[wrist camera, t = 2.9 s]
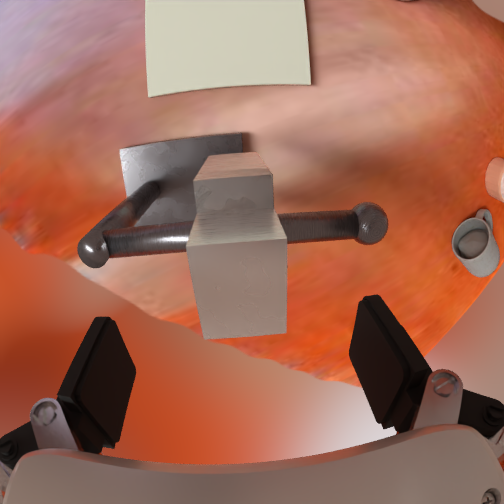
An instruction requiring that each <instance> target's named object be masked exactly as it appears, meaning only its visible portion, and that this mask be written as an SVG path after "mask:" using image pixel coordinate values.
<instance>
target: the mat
mask: <svg viewBox="0 0 504 504" xmlns="http://www.w3.org/2000/svg"><path fill="white" fill-rule="evenodd" d="M145 40H146V68H147V85H148V97H150V98H152V97H157V96H163V95H168V94H175V93H181V92H188V91H196V90H204V89H214V88H225V87H238V86H258V85H311V77H310V62H309V48H308V36H307V26H306V16H305V6H304V0H145Z"/></svg>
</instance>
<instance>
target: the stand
mask: <svg viewBox="0 0 504 504" xmlns="http://www.w3.org/2000/svg"><path fill="white" fill-rule="evenodd" d="M233 153H243V148H242V133H231V134H219V135H209V136H199V137H191V138H183V139H175V140H168V141H162V142H155V143H149V144H144V145H138V146H132V147H127V148H123V149H120V157H121V164H122V170H123V177H124V183H125V188H126V194H127V198H126V199H125V200H124V201H122V202H121V203H120V204H119V205H118V206H117V207H116V208H114V209H113V210H112V211H111V212H110V213H109V214H108V215H107V216H105V217H104V218H103V219H102V220H101V221H100V222H99V223H98V224H97V225H96V226H95V227H94V228H93V229H91V230H90V231H89V232H88V233H87V234H86V235H85V236H84V237H83V238H82V239H81V240H80V242H79V243H78V255H79V257H80V259H81V260H82V262H83V263H84V264H86V265H87V266H89V267H91V268H100V267H102V266H103V265H104V264H105V263H106V262H107V260H108V259H109V258H120V257H131V256H143V255H155V254H168V253H180V252H187V251H186V244H187V241H188V238H189V235H190V232H191V229H192V227H193V224H194V221H195V218H196V215H197V209H196V201H195V193H194V185H193V180H194V179H195V177H196V175H197V174H198V172H199V171H200V169H201V167H202V166H203V164H204V163H205V161H206V160H207V158H208V156H210V155H221V154H233ZM277 216H278V218H279V221H280V223H281V225H282V228H283V230H284V232H285V235H286V237H287V244H294V243H307V242H320V241H334V240H347V239H354V240H355V241H356V242H358V243H360V244H363V245H373V244H376V243H378V242H379V241H381V240H382V239H383V238H384V236H385V235H386V233H387V230H388V218H387V215H386V213H385V212H384V210H383V209H382V208H381V207H380V206H378V205H376V204H374V203H370V202H364V203H360V204H358V205H356V206H355V207H354V208H353V209H352V210H339V211H318V212H300V213H284V214H277Z"/></svg>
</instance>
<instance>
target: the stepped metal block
mask: <svg viewBox="0 0 504 504" xmlns="http://www.w3.org/2000/svg"><path fill="white" fill-rule="evenodd" d="M193 185H194V193H195V201H196V209H197V215H196V218H195V221H194V224H193V227H192V229H191V232H190V235H189V238H188V241H187V244H186V251H187V256H188V262H189V268H190V273H191V278H192V284H193V289H194V294H195V299H196V304H197V309H198V314H199V318H200V323H201V328H202V332H203V337H204V339H220V338H235V337H249V336H260V335H271V334H281V333H286V322H287V237H286V235H285V232H284V230H283V228H282V225H281V223H280V221H279V218H278V216H277V214H276V211H275V209H274V200H273V174H272V173H271V172H270V170H269V169H268V167H267V166H266V164H265V163H264V161H263V160H262V158H261V157H260V156H259V154H258V153H257V152H246V153H233V154H221V155H210V156H208V158H207V160H206V161H205V163H204V164H203V166H202V167H201V169H200V171H199V172H198V174H197V175H196V177H195V179H194V180H193Z"/></svg>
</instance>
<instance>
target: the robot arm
mask: <svg viewBox="0 0 504 504" xmlns="http://www.w3.org/2000/svg"><path fill="white" fill-rule="evenodd" d="M401 1H412V0H401ZM349 356H350V360H351V362H352V364H353V367H354V369H355V371H356V374H357V376H358V378H359V381H360V383H361V385H362V388H363V390H364V392H365V395H366V397H367V400H368V402H369V405H370V407H371V409H372V412H373V414H374V417H375V419H376V421H377V423H379V424H380V423H381V424H382V427H383V429H387V428H390V427H393V426H394V428H395V430H396V431H397V433H396V435H394V436H390V437H387V438H384V439H381V440H377V441H373V442H370V443H366V444H363V445H359V446H354V447H350V448H346V449H342V450H337V451H333V452H328V453H323V454H318V455H312V456H306V457H300V458H294V459H287V460H279V461H269V462H260V463H246V464H222V465H195V464H171V463H158V462H147V461H138V460H131V459H123V458H116V457H110V456H104V455H103V454H102V452H101V451H102V448H103V447H106V448H112V449H114V448H115V443H116V442H119V440H120V436H121V431H122V427H123V422H124V419H125V414H126V410H127V406H128V402H129V398H130V394H131V390H132V387H133V383H134V380H135V375H136V368H135V365H134V363H133V361H132V359H131V357H130V355H129V353H128V350H127V348H126V346H125V343H124V341H123V339H122V337H121V334H120V332H119V329H118V327H117V325H116V322H115V321H114V320H112V319H111V318H110V317H96V318H95V319H94V320H93V322H92V324H91V326H90V328H89V330H88V331H87V333H86V335H85V337H84V339H83V341H82V343H81V345H80V347H79V349H78V351H77V353H76V355H75V357H74V359H73V361H72V363H71V365H70V367H69V370H68V372H67V374H66V376H65V378H64V380H63V382H62V385H61V387H60V389H59V392H58V394H57V395H58V397H57V399H56V400H55V399H52V398H44V399H41V400H40V401H38V402H37V403H36V404H35V405H34V406H33V408H32V409H31V413H30V420H31V421H30V422H28V423H26V424H24V425H23V426H21V427H19V428H17V429H15V430H13V431H11V432H10V433H8V434H6V435H4V436H3V437H2V438H1V439H0V504H504V405H503V404H502V403H501V402H500V401H498V400H496V399H493V398H490V397H486V396H483V395H480V394H477V393H474V392H470V391H468V390H465V389H463V383H462V381H461V379H460V378H459V376H458V375H457V374H455V373H454V372H453V371H450V370H446V369H439V370H436V371H434V372H432V370H431V368H430V367H429V365H428V363H427V362H426V360H425V359H424V357H423V356H422V354H421V353H420V351H419V350H418V348H417V347H416V345H415V344H414V342H413V341H412V339H411V338H410V336H409V335H408V333H407V332H406V330H405V329H404V327H403V326H402V325H400V323H399V322H398V321H397V319H396V318H395V316H394V315H393V313H392V312H391V311H390V309H389V308H388V306H387V305H386V304H385V302H384V301H383V300H382V298H381V297H380V296H379V295H371V296H365V297H364V298H363V300H362V301H360V302H359V304H358V310H357V315H356V320H355V325H354V330H353V335H352V340H351V344H350V349H349Z"/></svg>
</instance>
